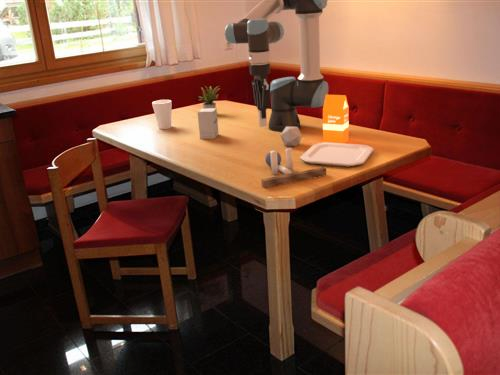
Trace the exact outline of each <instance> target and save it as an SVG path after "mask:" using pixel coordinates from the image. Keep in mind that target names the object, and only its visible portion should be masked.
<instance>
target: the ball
mask: <svg viewBox="0 0 500 375" xmlns="http://www.w3.org/2000/svg"><path fill="white" fill-rule="evenodd" d="M277 160H278V165H280V164H282V156H281V153H279V152H278V151H277ZM265 163H266V165H267V166H268V167H270V168H271V154H270V152H268V153H267V154H266V155H265Z"/></svg>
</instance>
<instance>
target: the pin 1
mask: <svg viewBox="0 0 500 375" xmlns="http://www.w3.org/2000/svg"><path fill="white" fill-rule="evenodd" d="M277 152H278V151H277V150H270V154H271V167H270V168H271V169H270V171H271V176H277V175H279V170H278V160H277Z"/></svg>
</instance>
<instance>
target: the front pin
mask: <svg viewBox="0 0 500 375" xmlns="http://www.w3.org/2000/svg"><path fill="white" fill-rule="evenodd" d="M278 172H281V173H282V175H286V174H291V173H294V172H293V171H291V170H289V169H288V168H286V165H283V164H282V163H280V164H279V165H278Z"/></svg>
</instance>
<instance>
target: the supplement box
mask: <svg viewBox="0 0 500 375" xmlns="http://www.w3.org/2000/svg"><path fill="white" fill-rule="evenodd" d="M217 111H218V109H217V107H216V108H206V109H204V108H201V109H199V110H198V111H197V121H198V131H199V139H204V140H205V139H206V140H207V139H208V140H209V139H211V140H215V139H216V137H218V135H219V122H218V112H217Z"/></svg>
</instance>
